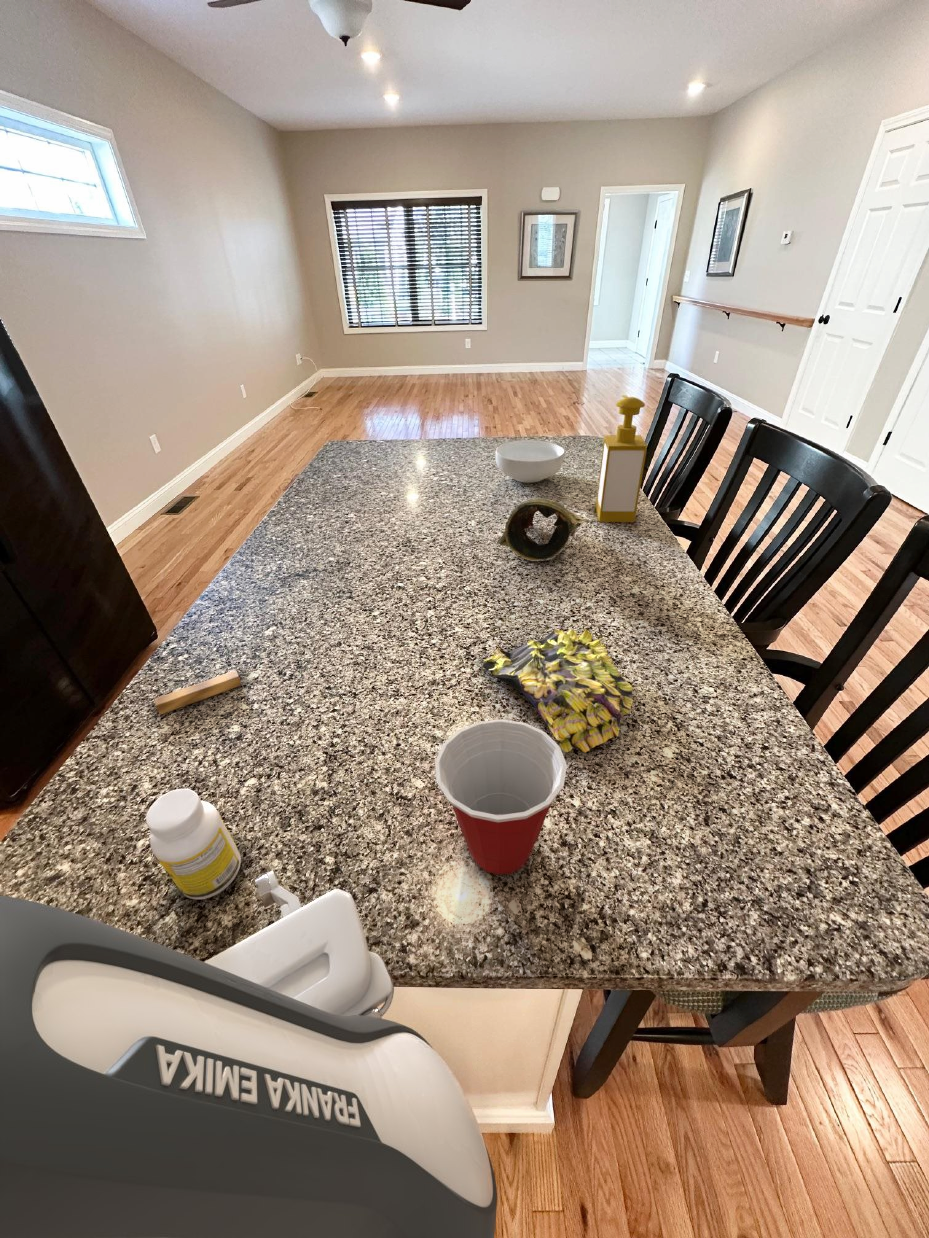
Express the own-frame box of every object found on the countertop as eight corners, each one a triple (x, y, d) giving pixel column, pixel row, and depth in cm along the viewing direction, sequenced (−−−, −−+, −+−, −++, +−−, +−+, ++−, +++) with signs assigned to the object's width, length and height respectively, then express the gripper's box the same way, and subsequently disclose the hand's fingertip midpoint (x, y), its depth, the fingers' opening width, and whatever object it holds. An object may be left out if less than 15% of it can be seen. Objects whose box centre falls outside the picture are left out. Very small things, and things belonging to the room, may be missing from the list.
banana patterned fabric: (660, 740, 60) (662, 710, 55) (528, 789, 60) (518, 763, 55) (589, 623, 74) (585, 592, 69) (482, 663, 74) (471, 634, 69)
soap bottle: (625, 499, 117) (642, 387, 103) (634, 522, 106) (654, 401, 93) (593, 498, 117) (605, 387, 104) (599, 521, 107) (614, 402, 94)
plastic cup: (528, 783, 54) (533, 700, 47) (577, 878, 46) (592, 795, 39) (429, 812, 52) (419, 730, 45) (462, 919, 43) (456, 837, 36)
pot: (585, 482, 101) (580, 485, 84) (598, 538, 103) (595, 551, 87) (503, 505, 107) (482, 512, 90) (516, 558, 109) (499, 574, 92)
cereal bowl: (519, 494, 121) (520, 465, 117) (483, 474, 133) (482, 447, 129) (576, 480, 127) (579, 451, 123) (537, 462, 139) (538, 436, 135)
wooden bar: (160, 715, 64) (155, 705, 64) (158, 707, 66) (154, 698, 65) (242, 685, 69) (238, 676, 68) (239, 678, 70) (236, 669, 69)
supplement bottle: (183, 854, 49) (143, 790, 43) (243, 837, 50) (211, 773, 45) (175, 910, 45) (129, 847, 39) (240, 890, 46) (205, 826, 40)
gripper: (399, 988, 32) (326, 820, 42) (-5, 1263, 23) (22, 972, 33) (409, 1025, 36) (339, 863, 45) (61, 1275, 27) (68, 1009, 37)
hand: (203, 910), depth 39 cm, fingers open, 8 cm apart
